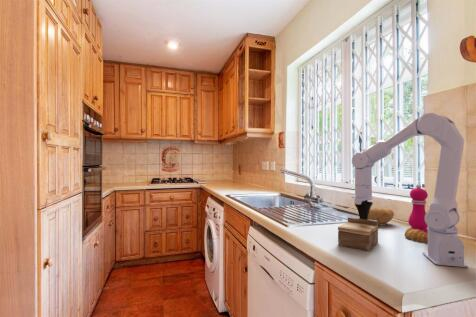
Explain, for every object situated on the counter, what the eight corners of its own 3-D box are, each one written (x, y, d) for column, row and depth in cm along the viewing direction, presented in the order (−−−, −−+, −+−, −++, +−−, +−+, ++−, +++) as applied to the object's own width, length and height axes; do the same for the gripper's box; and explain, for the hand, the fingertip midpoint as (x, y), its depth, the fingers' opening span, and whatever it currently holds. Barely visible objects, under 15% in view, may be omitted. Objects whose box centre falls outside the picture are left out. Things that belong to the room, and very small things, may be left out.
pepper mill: (420, 236, 103) (419, 185, 103) (404, 231, 110) (403, 183, 110) (434, 235, 105) (434, 184, 105) (417, 230, 112) (417, 183, 112)
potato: (400, 226, 119) (400, 208, 119) (374, 228, 116) (374, 209, 116) (384, 221, 129) (384, 204, 129) (359, 222, 125) (359, 206, 126)
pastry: (439, 243, 96) (439, 232, 96) (427, 245, 93) (427, 234, 93) (413, 236, 104) (413, 226, 104) (402, 238, 102) (402, 228, 102)
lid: (368, 235, 86) (368, 227, 86) (338, 230, 93) (337, 222, 93) (377, 228, 95) (377, 220, 95) (349, 224, 102) (349, 216, 102)
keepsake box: (368, 251, 86) (368, 236, 86) (338, 245, 93) (338, 231, 93) (378, 242, 95) (377, 229, 95) (349, 237, 102) (349, 224, 102)
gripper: (358, 183, 107) (358, 216, 107) (345, 185, 96) (346, 223, 96) (377, 183, 103) (377, 218, 103) (366, 187, 92) (366, 226, 92)
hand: (363, 221), depth 99 cm, fingers closed
